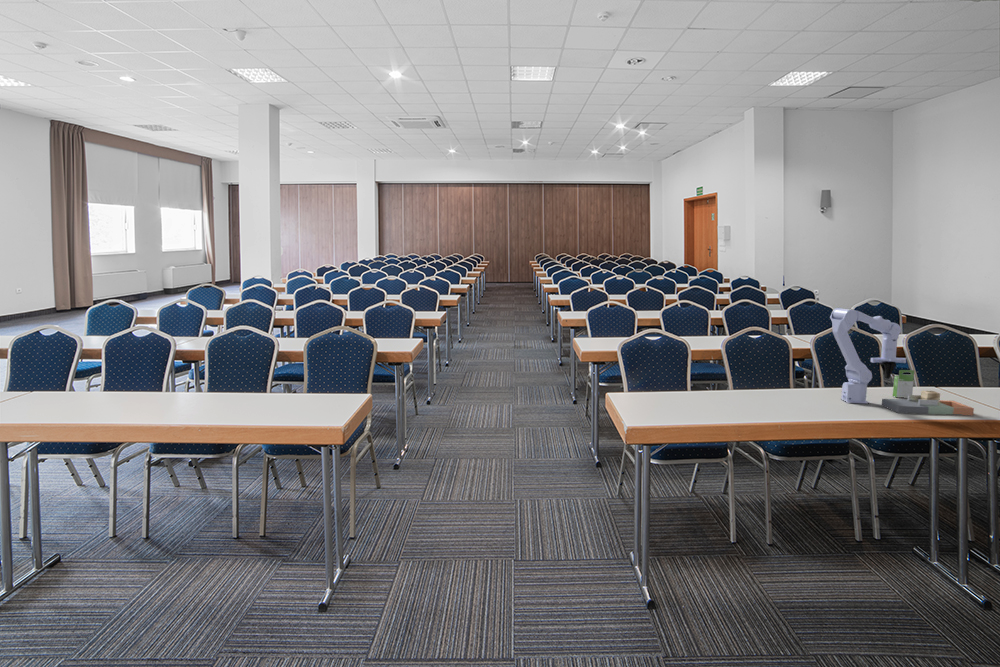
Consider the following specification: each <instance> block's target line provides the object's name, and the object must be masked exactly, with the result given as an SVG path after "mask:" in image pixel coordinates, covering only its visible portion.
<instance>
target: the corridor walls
mask: <svg viewBox="0 0 1000 667" xmlns="http://www.w3.org/2000/svg"><path fill="white" fill-rule="evenodd" d="M907 399H908V400H907V401H918V405H919V406H938V401H939V400H932V399H921V394H919V395H918V394H912V395H908V398H907Z"/></svg>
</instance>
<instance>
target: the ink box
mask: <svg viewBox="0 0 1000 667" xmlns="http://www.w3.org/2000/svg"><path fill="white" fill-rule="evenodd" d="M904 373H906V374H904ZM907 373H910V374H907ZM914 378H915V370H914V369H913V370H912V369H910V370H909V369H899V371H898V375H894V379H893V387H892V397H893V396H895V397H904V398H903V399H908V395H913V391H914V390H913V389H914V381H915V380H914ZM895 397H894V398H895Z"/></svg>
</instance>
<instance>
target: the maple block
mask: <svg viewBox="0 0 1000 667" xmlns="http://www.w3.org/2000/svg"><path fill="white" fill-rule="evenodd" d="M920 395H921V399H932V400H939V401H940V399H941V398H940V397H941V393H940V392H937V391H934V390H921V392H920ZM939 401H938V405H939Z"/></svg>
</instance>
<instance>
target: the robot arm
mask: <svg viewBox="0 0 1000 667" xmlns="http://www.w3.org/2000/svg"><path fill="white" fill-rule="evenodd" d="M829 319H830V320H831V323H832V324H831V325H832V326H831V327H832V335H833V336H834V339H835V341H836V342H837V345H838V347H839V349H840V352H841V355H842V356H843V357H844V360H845V362H846V365H845V366H844V369H845V376H846V378H847V380H848V381H847V382H845V381H844V382H843V383H842V386H841V387H842V388H841V397H840V400H841V399H842V400H841V401H843V400H844V402H845V401H846V402H845V403H847V404H868V403H869V404H871V403H870V402H869V401H867V392H868V391H867V390H868V385H869V382H871V381H872V379H873V374H872V371H871V370H870V369H869V368H868V367H867V365H866V364H865V363H864V362H862V361H861V359H860V357H859V355H858V353H857V351H856V348H855V346H854V344H853V342H852V339H851V337H850V335H849V333H848V332H849V331H850V330H851V329H852V327H853V326H854V324H855V323H856V322H863V323H865V324H868V326H869V328H870V329H873V330H875V331H878V332H880V334H882V340H881V352H880V353H881V355H880V357H870V363H872V364H874V363H879V365H880V368H881V369H882V372H883V378H884V379H890V378H891V375H892V373H893V371H894V370H895V368H896V367H897V363H900V364H906V363H907V358H905V357H897V350H898V349H897V348H898V346H897V345H898V339H899V337H900V336H899V335H901V332H902V329H901V326H900V325H899V324H898V323H896V322H891V320H889V319H884V318H883V316H882V315H877V316H870V315H868V314H865V313H864V312H862V311H860V310H855V309H849V308H841V307H836V308H833V310H832V311H831V314H830V316H829Z"/></svg>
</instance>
